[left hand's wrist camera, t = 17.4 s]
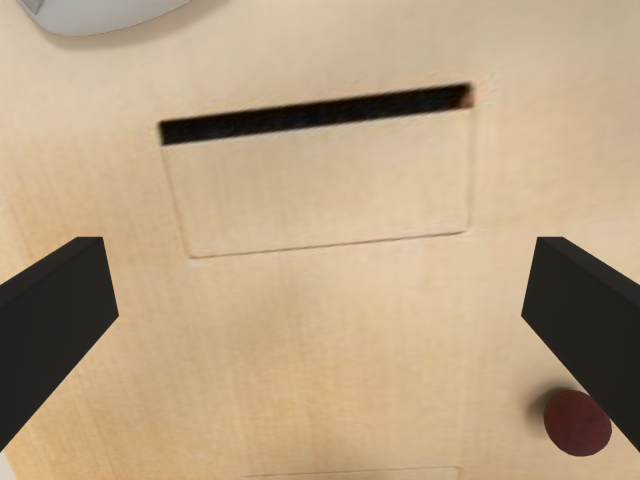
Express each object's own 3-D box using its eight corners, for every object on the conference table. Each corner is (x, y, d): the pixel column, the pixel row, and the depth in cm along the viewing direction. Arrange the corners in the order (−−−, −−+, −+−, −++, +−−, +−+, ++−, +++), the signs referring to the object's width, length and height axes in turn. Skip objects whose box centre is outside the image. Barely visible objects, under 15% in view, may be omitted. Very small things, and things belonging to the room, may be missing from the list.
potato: (530, 425, 55) (558, 471, 49) (537, 380, 53) (568, 422, 46) (584, 422, 55) (619, 468, 49) (594, 377, 52) (633, 419, 46)
